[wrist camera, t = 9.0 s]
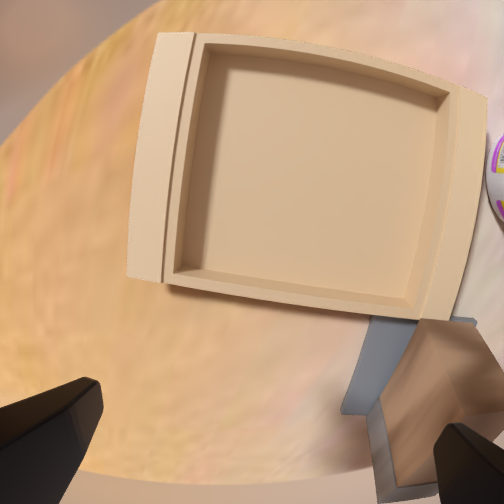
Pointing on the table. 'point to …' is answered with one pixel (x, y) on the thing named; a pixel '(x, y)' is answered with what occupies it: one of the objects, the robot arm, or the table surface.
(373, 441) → the box
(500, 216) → the supplement bottle
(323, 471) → the table surface
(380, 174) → the tray
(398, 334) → the coaster
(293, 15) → the table surface
